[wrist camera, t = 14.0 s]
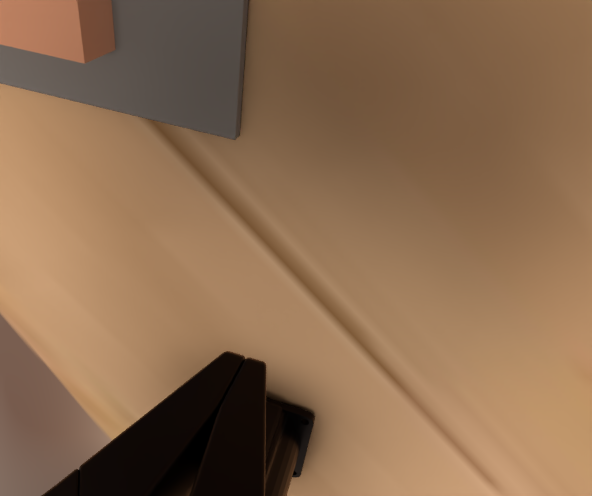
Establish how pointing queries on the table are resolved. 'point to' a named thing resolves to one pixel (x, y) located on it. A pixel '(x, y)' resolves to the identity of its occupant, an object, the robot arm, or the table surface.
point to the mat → (154, 65)
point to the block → (59, 27)
